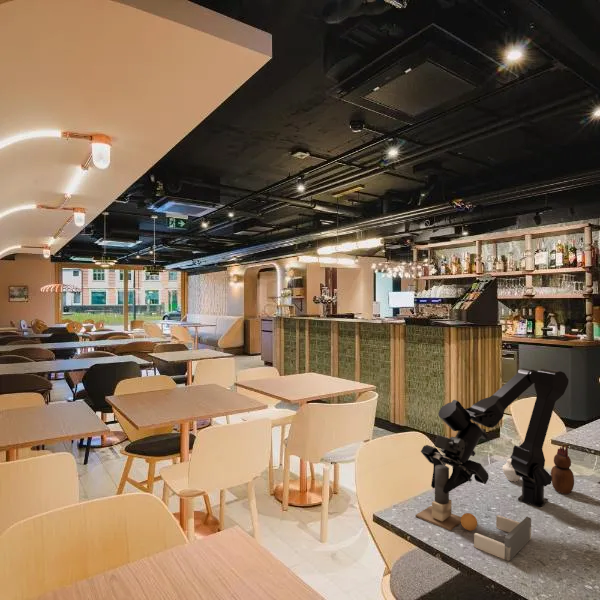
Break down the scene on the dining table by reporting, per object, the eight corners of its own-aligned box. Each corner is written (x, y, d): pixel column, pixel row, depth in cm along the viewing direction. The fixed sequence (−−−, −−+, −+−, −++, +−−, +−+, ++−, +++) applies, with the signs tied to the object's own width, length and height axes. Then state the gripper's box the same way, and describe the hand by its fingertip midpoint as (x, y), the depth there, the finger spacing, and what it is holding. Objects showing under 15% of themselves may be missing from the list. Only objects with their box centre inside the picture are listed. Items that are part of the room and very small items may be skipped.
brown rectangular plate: (430, 507, 124) (430, 505, 124) (464, 520, 117) (464, 518, 117) (415, 516, 118) (415, 514, 118) (450, 530, 111) (450, 528, 111)
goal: (497, 526, 113) (497, 507, 113) (531, 538, 108) (531, 518, 108) (474, 547, 104) (474, 525, 104) (509, 561, 98) (509, 538, 98)
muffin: (498, 476, 147) (498, 455, 147) (515, 476, 148) (515, 455, 148) (509, 484, 141) (509, 462, 141) (527, 483, 141) (527, 461, 142)
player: (440, 510, 120) (440, 463, 120) (452, 515, 118) (452, 466, 118) (430, 516, 117) (431, 467, 117) (443, 521, 114) (443, 471, 114)
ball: (464, 524, 115) (464, 508, 115) (480, 529, 112) (480, 514, 112) (457, 529, 112) (457, 513, 112) (473, 535, 109) (473, 519, 109)
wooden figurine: (577, 496, 132) (577, 447, 132) (556, 495, 133) (556, 445, 133) (568, 487, 138) (568, 440, 138) (548, 486, 139) (548, 438, 140)
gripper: (425, 416, 127) (397, 461, 121) (481, 432, 112) (453, 485, 106) (443, 439, 132) (417, 484, 125) (500, 458, 116) (473, 510, 110)
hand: (438, 490), depth 116 cm, fingers closed on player, 4 cm apart
